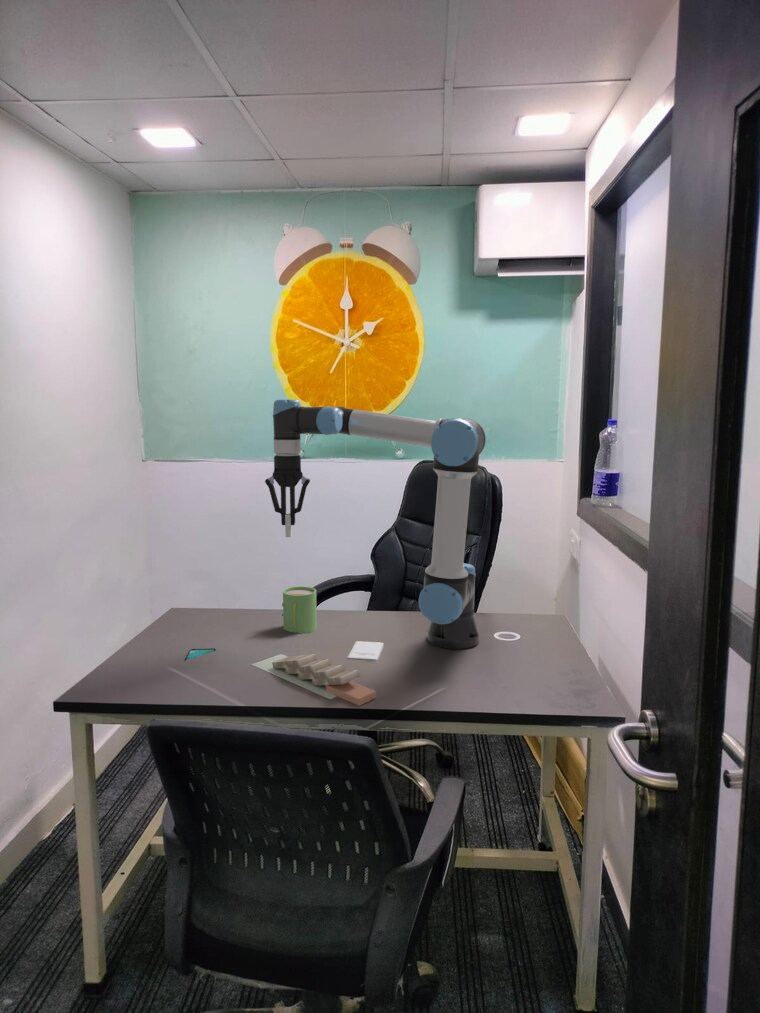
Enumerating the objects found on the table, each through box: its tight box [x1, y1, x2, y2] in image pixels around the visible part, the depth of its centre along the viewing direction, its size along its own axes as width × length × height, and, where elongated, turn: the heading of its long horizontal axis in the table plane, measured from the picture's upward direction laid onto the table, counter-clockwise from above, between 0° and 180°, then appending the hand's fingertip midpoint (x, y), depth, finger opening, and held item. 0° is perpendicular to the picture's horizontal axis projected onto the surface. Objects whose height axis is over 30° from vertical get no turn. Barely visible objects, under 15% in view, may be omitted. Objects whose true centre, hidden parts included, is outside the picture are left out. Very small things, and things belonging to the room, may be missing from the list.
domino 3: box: [298, 664, 346, 680], centre depth 158 cm, size 2×6×11 cm
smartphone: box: [184, 648, 217, 661], centre depth 173 cm, size 7×1×15 cm
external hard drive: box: [346, 640, 385, 661], centre depth 178 cm, size 2×8×12 cm
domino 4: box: [312, 669, 361, 686], centre depth 154 cm, size 2×6×11 cm
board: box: [251, 653, 338, 700], centre depth 162 cm, size 30×10×1 cm, turn 48°
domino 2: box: [285, 658, 332, 674], centre depth 161 cm, size 2×6×11 cm
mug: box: [281, 585, 318, 635], centre depth 196 cm, size 13×10×12 cm
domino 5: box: [326, 680, 377, 707], centre depth 151 cm, size 2×6×11 cm
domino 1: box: [272, 653, 318, 669], centre depth 164 cm, size 2×6×11 cm
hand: (288, 536), depth 186 cm, fingers closed
